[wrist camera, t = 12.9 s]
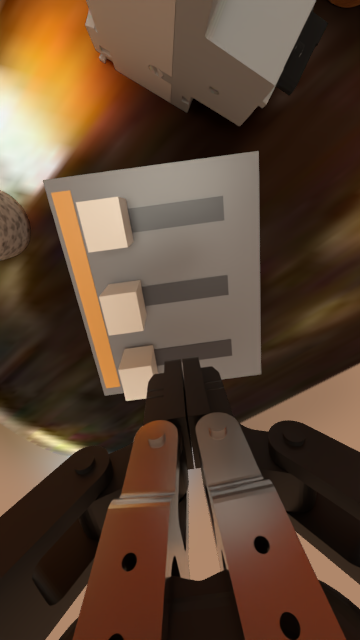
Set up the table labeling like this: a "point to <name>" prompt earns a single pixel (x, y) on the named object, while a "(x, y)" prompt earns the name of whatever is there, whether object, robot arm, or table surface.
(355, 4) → the disposable coffee cup
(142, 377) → the handle
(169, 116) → the table surface
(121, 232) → the handle
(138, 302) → the handle
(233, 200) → the slider control panel
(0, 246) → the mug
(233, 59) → the circuit breaker
